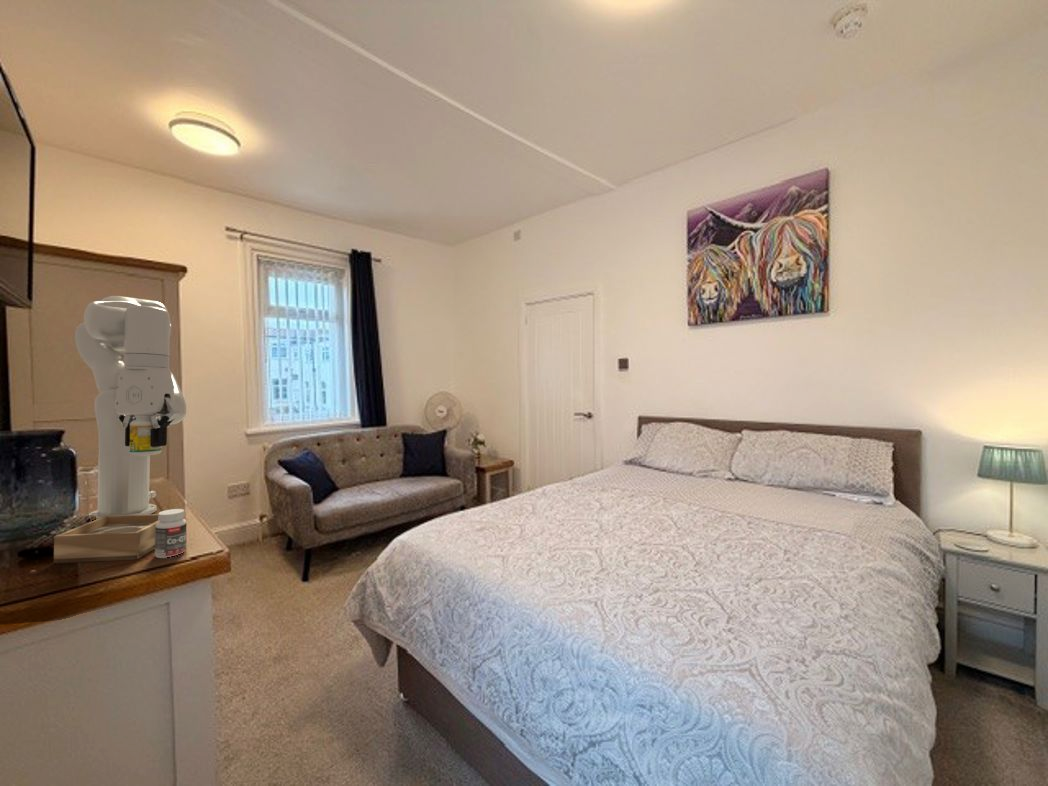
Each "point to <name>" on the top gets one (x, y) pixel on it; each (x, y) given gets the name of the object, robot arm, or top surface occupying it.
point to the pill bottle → (170, 533)
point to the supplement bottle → (142, 437)
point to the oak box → (107, 539)
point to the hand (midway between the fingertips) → (146, 445)
